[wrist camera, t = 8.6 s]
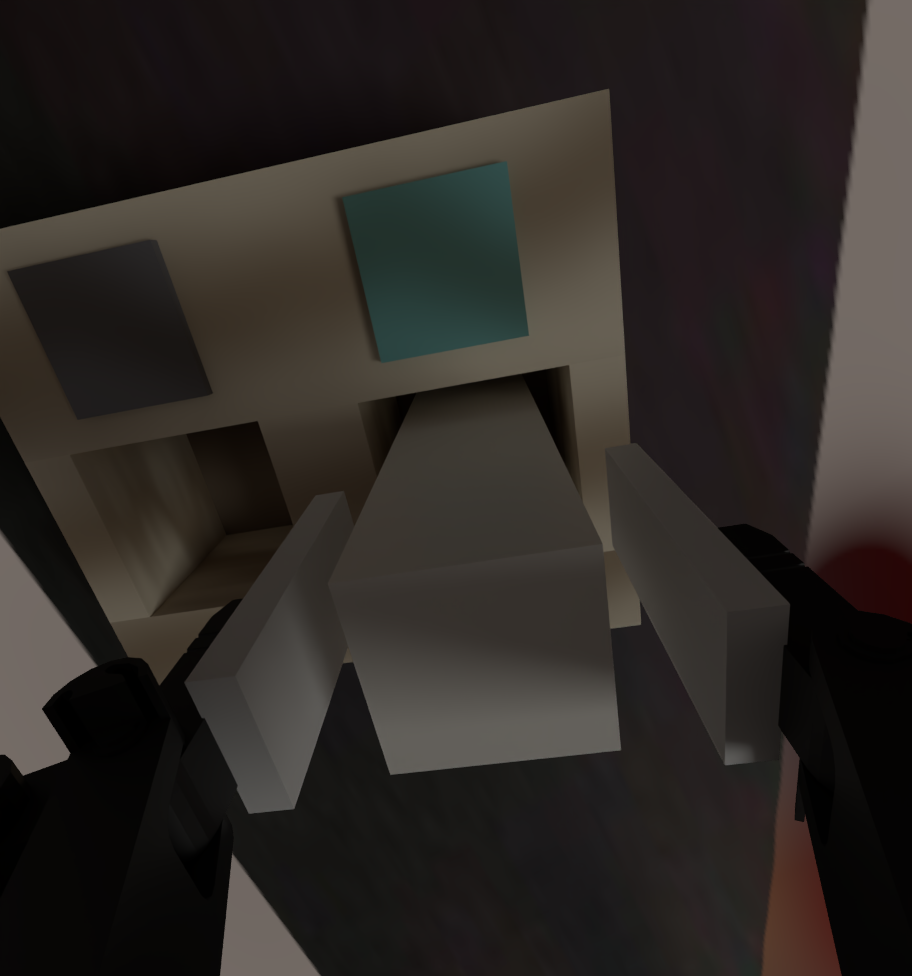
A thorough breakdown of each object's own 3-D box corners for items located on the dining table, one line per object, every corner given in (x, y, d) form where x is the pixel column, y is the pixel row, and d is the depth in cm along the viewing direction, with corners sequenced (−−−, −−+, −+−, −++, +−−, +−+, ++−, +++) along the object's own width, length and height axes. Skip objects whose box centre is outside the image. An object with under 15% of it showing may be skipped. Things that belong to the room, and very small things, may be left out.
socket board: (595, 529, 24) (643, 630, 17) (228, 583, 26) (140, 694, 19) (560, 153, 18) (612, 84, 11) (92, 256, 20) (-102, 248, 13)
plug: (532, 464, 22) (621, 749, 9) (438, 479, 22) (390, 775, 9) (519, 369, 20) (602, 543, 7) (418, 387, 20) (328, 583, 8)
